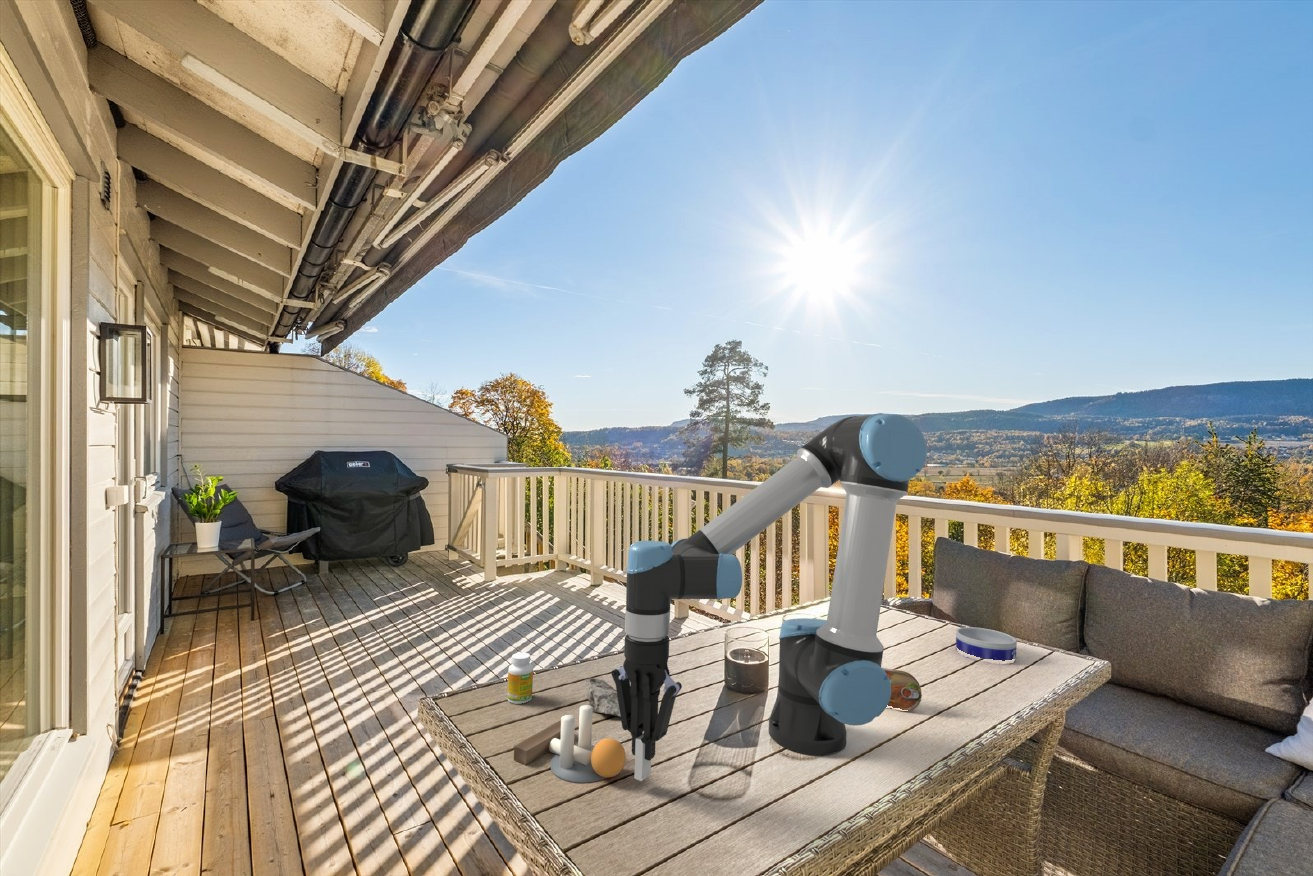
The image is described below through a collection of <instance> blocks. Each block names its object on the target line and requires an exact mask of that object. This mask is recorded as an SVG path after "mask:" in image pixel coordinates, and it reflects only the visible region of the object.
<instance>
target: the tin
mask: <svg viewBox="0 0 1313 876" xmlns="http://www.w3.org/2000/svg"><path fill="white" fill-rule="evenodd" d="M882 668H883V669H884V670H885V672H886V674H887V676H888V678H889V680H890V683H891V696H890V700H889V703H888V706H892V707H893V708H900V709H902V710H908V712H911V711H913V710H915V709H916V708H918V707H919V705H920V704H921V702H922V696H923V695H922V693H923V692H922V689H921V686H920V683H919V681H918V679H916V677H915V676H914V675H912V674H911V673H909V672H907V671H904V670H898V669H893V668H887V667H882Z"/></svg>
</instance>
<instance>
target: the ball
mask: <svg viewBox="0 0 1313 876" xmlns="http://www.w3.org/2000/svg"><path fill="white" fill-rule="evenodd" d="M621 743H622V742H620V741H619V740H617V739H615V738H611V737H606V738H602V739H601V740H599V741H598V742H597V743H596V744H595V745H594V746H595V747H594V748H593V750H592V754H591V764H592V767H593V769H594V770H595V772H596V773H597V774H598V775H600V776H602V777H606V778H605V779H607V778H614V777H616V776H617V775H619V773H620V772H622V770H623V768H624V766H625V763H626V751H625V748H624V746H623V744H621Z"/></svg>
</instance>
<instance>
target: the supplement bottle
mask: <svg viewBox="0 0 1313 876" xmlns="http://www.w3.org/2000/svg"><path fill="white" fill-rule="evenodd" d="M530 662H531V654H530V653H528V652H515V653H513V654H512V655H511V663H512V664H510V665H509V667H508V669H507V670H508V671H507V692H506V693H507V695H506V696H507V701H508V703H510V702H511V704H515V705H522V703H523V704H526V702H527V703H528V701H529V702H530V701H531V700H532V697H533V682H534V681H533V680H534V679H533V677H534V665H533V664H532V663H530Z"/></svg>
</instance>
